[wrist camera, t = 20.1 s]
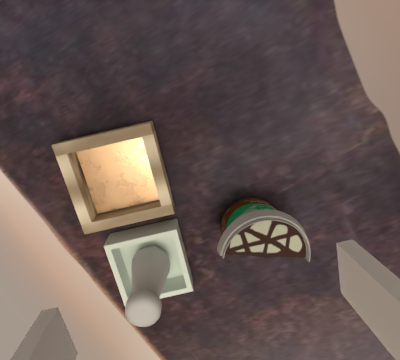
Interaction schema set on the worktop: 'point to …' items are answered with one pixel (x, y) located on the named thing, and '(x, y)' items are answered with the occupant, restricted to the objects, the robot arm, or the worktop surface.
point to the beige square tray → (80, 189)
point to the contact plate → (118, 174)
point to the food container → (261, 231)
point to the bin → (144, 237)
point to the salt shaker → (147, 286)
